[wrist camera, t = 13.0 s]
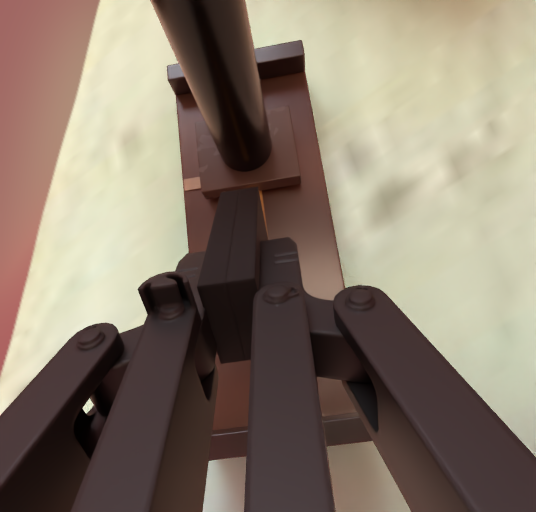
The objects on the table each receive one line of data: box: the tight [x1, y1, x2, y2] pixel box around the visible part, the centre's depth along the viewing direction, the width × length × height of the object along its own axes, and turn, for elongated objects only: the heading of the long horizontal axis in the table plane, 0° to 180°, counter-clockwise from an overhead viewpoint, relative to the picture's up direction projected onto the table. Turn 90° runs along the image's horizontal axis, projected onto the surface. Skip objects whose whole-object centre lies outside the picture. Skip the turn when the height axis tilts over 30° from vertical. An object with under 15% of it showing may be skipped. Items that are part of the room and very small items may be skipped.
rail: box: [167, 40, 373, 461], centre depth 25 cm, size 24×9×4 cm, turn 8°
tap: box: [150, 0, 301, 199], centre depth 19 cm, size 10×8×16 cm
